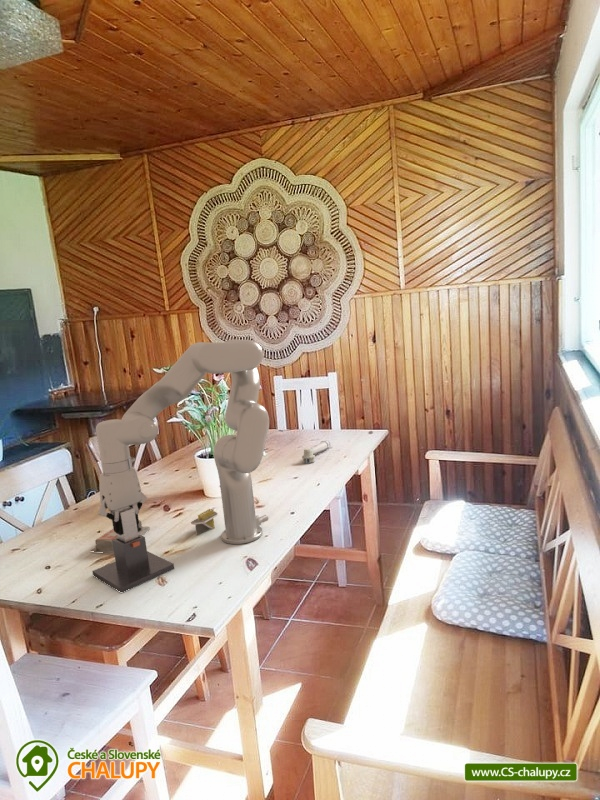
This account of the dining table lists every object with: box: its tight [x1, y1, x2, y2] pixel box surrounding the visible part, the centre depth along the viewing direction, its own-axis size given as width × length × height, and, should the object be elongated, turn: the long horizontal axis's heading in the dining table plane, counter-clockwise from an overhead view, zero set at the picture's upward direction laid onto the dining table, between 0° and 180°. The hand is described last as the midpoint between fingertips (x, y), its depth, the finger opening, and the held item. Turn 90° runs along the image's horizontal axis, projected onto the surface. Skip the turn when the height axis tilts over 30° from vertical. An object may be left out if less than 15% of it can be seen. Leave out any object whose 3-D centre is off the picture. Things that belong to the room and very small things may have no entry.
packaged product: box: [89, 519, 151, 554], centre depth 181 cm, size 18×5×10 cm
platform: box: [190, 508, 219, 536], centre depth 182 cm, size 12×18×7 cm, turn 148°
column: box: [117, 506, 139, 544], centre depth 157 cm, size 4×4×16 cm
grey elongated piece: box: [301, 440, 331, 464], centre depth 255 cm, size 5×7×25 cm
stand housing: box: [92, 534, 175, 593], centre depth 158 cm, size 16×16×10 cm
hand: (127, 529), depth 156 cm, fingers closed on column, 4 cm apart
